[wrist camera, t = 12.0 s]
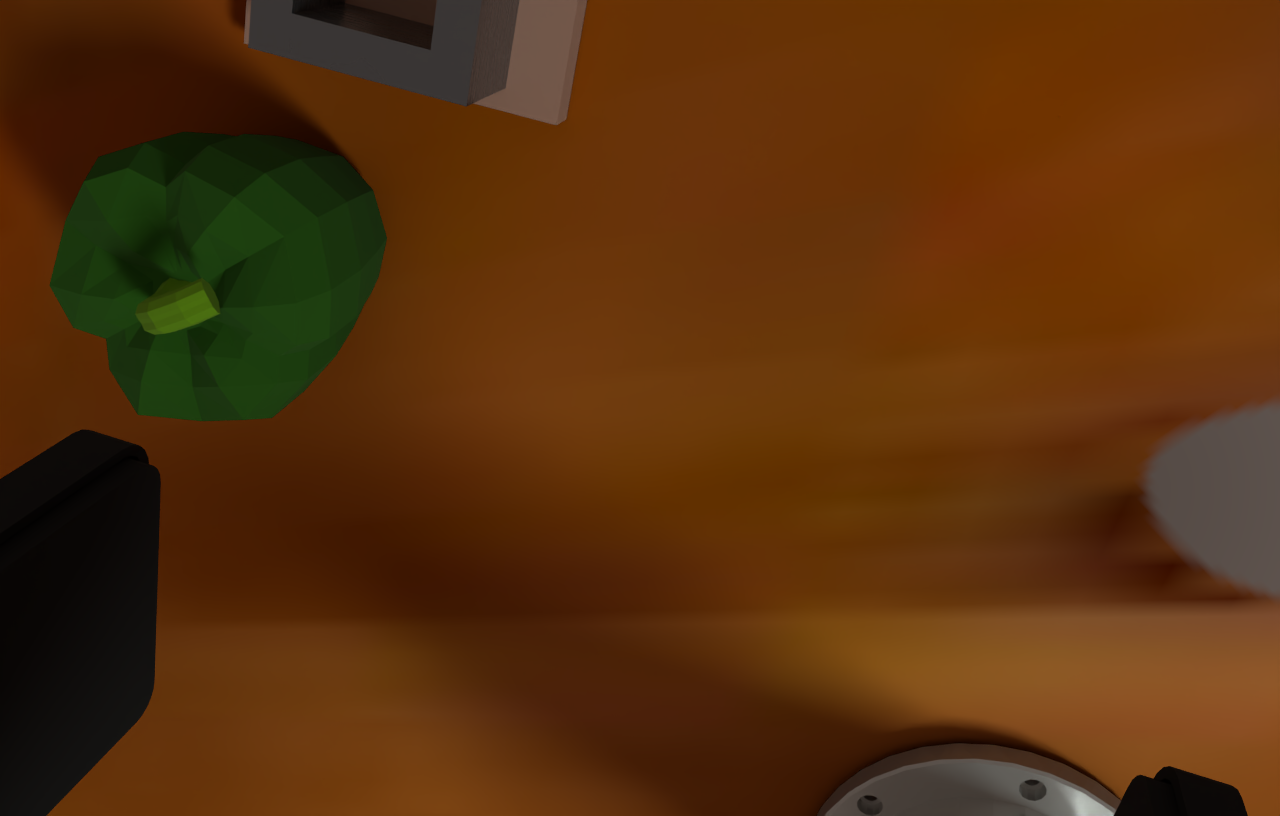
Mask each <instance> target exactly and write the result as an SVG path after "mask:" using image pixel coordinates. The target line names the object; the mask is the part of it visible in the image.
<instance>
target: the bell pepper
mask: <svg viewBox="0 0 1280 816" xmlns="http://www.w3.org/2000/svg"><path fill="white" fill-rule="evenodd" d="M386 240H387V237H386V233H385V230H384V226H383V223H382V219H381V216H380V212H379V209H378V206H377V202H376V199H375V195H374V192H373V190H372V188H371V187H370V186H369V185H368V184H367V183H366V182H365V181H364V179H363V178H362V177H361V176H360V175H359V174H358V173H357V172H356V171H355V169H354V168H353V167H352V166H351V165H350V164H349V163H348V162H347V161H346V159H345V158H344V157H343V156H340V155H337V154H334V153H332V152H329V151H326V150H324V149H321V148H318V147H315V146H313V145H310V144H307V143H305V142H302V141H299V140H295V139H290V138H284V137H279V136H270V135H254V134H243V135H239V136H231V135H225V134H212V133H195V132H181V133H177V134H174V135H170V136H166V137H163V138H159V139H156V140H152V141H148V142H145V143H142V144H138V145H135V146H132V147H129V148H126V149H122V150H119V151H116V152H113V153H110V154H106V155H103V156H100V157H98V159H97V161H96V162H95V164H94V165H93V167H92V169H91V170H90V172H89V174H88V175H87V177H86V179H85V180H84V182H83V184H82V186H81V189H80V191H79V193H78V195H77V197H76V199H75V202H74V204H73V206H72V208H71V210H70V212H69V214H68V217H67V219H66V221H65V225H64V229H63V233H62V237H61V241H60V245H59V249H58V254H57V258H56V262H55V266H54V270H53V274H52V278H51V282H50V287H51V289H52V290H53V292H54V294H55V296H56V298H57V299H58V301H59V303H60V305H61V306H62V308H63V310H64V312H65V314H66V315H67V317H68V319H69V321H70V322H71V324H72V326H73V328H76V329H79V330H82V331H85V332H88V333H91V334H94V335H97V336H100V337H103V338H106V341H107V350H108V360H109V369H110V371H111V372H112V374H113V376H114V377H115V379H116V380H117V382H118V384H119V385H120V387H121V388H122V390H123V392H124V393H125V395H126V396H127V398H128V400H129V401H130V403H131V404H132V406H133V408H134V409H135V411H136V412H137V414H138V415H147V416H157V417H166V418H176V419H186V420H196V421H222V420H248V419H263V418H272V417H274V416H275V415H276V414H277V413H278V412H280V411H281V410H282V409H283V408H284V407H286V406H287V405H288V404H289V403H290V402H292V401H293V400H294V399H295V398H296V397H298V396H299V395H300V394H301V393H302V392H304V391H305V390H306V388H307V387H308V386H309V385H310V384H311V383H312V382H313V381H314V380H315V378H316V377H317V376H318V375H319V374H320V373H321V372H322V371H323V370H324V368H325V367H326V366H327V365H328V364H329V363H330V362H331V361H332V360H333V358H334V357H335V356H336V355H337V353H338V351H339V350H340V348H341V347H342V345H343V343H344V342H345V340H346V339H347V337H348V335H349V334H350V332H351V330H352V329H353V327H354V325H355V323H356V321H357V319H358V317H359V314H360V312H361V310H362V308H363V306H364V304H365V302H366V301H367V299H368V297H369V296H370V294H371V292H372V290H373V288H374V286H375V283H376V281H377V279H378V277H379V273H380V268H381V263H382V259H383V254H384V249H385V245H386Z"/></svg>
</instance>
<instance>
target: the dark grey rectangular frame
mask: <svg viewBox="0 0 1280 816" xmlns="http://www.w3.org/2000/svg"><path fill="white" fill-rule="evenodd" d="M519 1H520V0H437V4H436V12H435V20H434V26H431V25H427V24H424V23H420V22H416V21H412V20H408V19H405V18H401V17H397V16H393V15H389V14H386V13H382V12H378V11H374V10H370V9H366V8H363V7H359V6H355V5H351V4H347V3H345V0H251V12H250V28H249V44H248V48H252V49H256V50H260V51H263V52H267V53H271V54H274V55H278V56H282V57H286V58H289V59H293V60H297V61H300V62H304V63H308V64H311V65H315V66H319V67H323V68H326V69H330V70H334V71H337V72H341V73H345V74H349V75H352V76H356V77H360V78H363V79H367V80H371V81H375V82H378V83H382V84H386V85H389V86H393V87H397V88H400V89H404V90H408V91H412V92H415V93H419V94H423V95H426V96H430V97H434V98H438V99H441V100H445V101H449V102H452V103H456V104H460V105H464V106H468V105H470V104H473V103H475V102H477V101H479V100H481V99H483V98H486V97H488V96H490V95H492V94H494V93H496V92H499V91H501V90H503V89H505V88H506V83H507V77H508V70H509V64H510V58H511V51H512V45H513V39H514V32H515V26H516V20H517V13H518V7H519Z"/></svg>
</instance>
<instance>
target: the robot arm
mask: <svg viewBox="0 0 1280 816" xmlns="http://www.w3.org/2000/svg"><path fill="white" fill-rule="evenodd" d="M160 486H161V481H160V474H159V471H158V469H157V468H156V467H154V466H153V465H149V461H148V456H147V454H146V452H145V450H144V449H143V448H142V447H140V446H139V445H136V444H133V443H129V442H126V441H123V440H120V439H117V438H113V437H110V436H107V435H104V434H101V433H97V432H94V431H91V430H80V431H78V432H75V433H73V434H71V435H70V436H68V437H66V438H65V439H63V440H62V441H60V442H59V443H57V444H55V445H54V446H52V447H51V448H49V449H47V450H46V451H44V452H43V453H41V454H39V455H38V456H36V457H35V458H33V459H31V460H30V461H28V462H27V463H25V464H24V465H22V466H20V467H19V468H17V469H16V470H14V471H12V472H11V473H9V474H8V475H6V476H4V477H3V478H1V479H0V816H46V815H47V814H48V813H49V812H50V811H51V810H52V809H53V808H54V807H55V806H56V805H57V804H58V803H59V802H60V801H61V800H62V799H63V798H64V797H65V796H66V795H67V794H68V792H69V791H70V790H71V789H72V788H73V787H74V786H75V785H76V784H77V783H78V782H79V781H80V780H81V779H82V778H83V777H84V776H85V775H86V774H87V773H88V772H89V771H90V770H91V769H92V768H93V767H94V766H95V765H96V764H97V763H98V761H99V760H100V759H101V758H102V757H103V756H104V755H105V754H106V753H107V752H108V751H109V750H110V749H111V748H112V747H113V746H114V745H115V744H116V743H117V742H118V741H119V740H120V739H121V738H122V737H123V736H124V735H125V734H126V733H127V732H128V730H129V729H130V728H131V727H132V726H133V725H134V724H135V723H136V722H137V721H138V720H139V718H140V717H141V716H142V714H143V713H144V711H145V709H146V708H147V705H148V703H149V701H150V699H151V696H152V692H153V688H154V678H155V646H156V614H157V582H158V550H159V518H160ZM817 816H1248V815H1247V812H1246V809H1245V806H1244V803H1243V800H1242V797H1241V795H1240V793H1239V791H1238V790H1237V789H1236V788H1235V787H1233V786H1231V785H1228V784H1225V783H1222V782H1219V781H1215V780H1212V779H1209V778H1206V777H1202V776H1199V775H1196V774H1193V773H1190V772H1186V771H1183V770H1180V769H1177V768H1174V767H1170V766H1168V767H1163V768H1162V769H1161V770H1160V771H1159V772H1158V773H1157V774H1156V776H1155V777H1154V779H1152V778H1149V777H1146V776H1143V775H1138V776H1136V777H1135V778H1134V779H1133V780H1132V782H1131V783H1130V785H1129V786H1128V788H1127V790H1126V792H1125V794H1124V796H1123V798H1122V800H1119V799H1118V798H1117V797H1116V796H1114V795H1113V794H1112V793H1111V792H1109V791H1108V790H1107V789H1105V788H1104V787H1103V786H1102V785H1100V784H1099V783H1098V782H1097V781H1095V780H1093V779H1091V778H1089V777H1087V776H1085V775H1084V774H1082V773H1080V772H1078V771H1076V770H1074V769H1073V768H1071V767H1069V766H1067V765H1065V764H1063V763H1060V762H1057V761H1054V760H1051V759H1049V758H1046V757H1043V756H1040V755H1037V754H1035V753H1032V752H1028V751H1023V750H1018V749H1012V748H1007V747H1002V746H997V745H986V744H963V743H955V744H946V745H936V746H927V747H921V748H917V749H913V750H910V751H906V752H903V753H899V754H895V755H892V756H889V757H887V758H885V759H883V760H881V761H878V762H876V763H874V764H872V765H870V766H868V767H866V768H864V769H862V770H860V771H859V772H858V773H856V774H855V775H854V776H852V777H851V778H850V779H848V780H847V781H846V782H844V783H843V784H842V785H840V786H839V787H838V788H837V789H836V790H835V792H834V793H833V794H832V795H831V796H830V797H829V799H828V800H827V801H826V802H825V803H824V804H823V806H822V807H821V808H820V810H819V812H818V814H817Z"/></svg>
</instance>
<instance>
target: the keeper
mask: <svg viewBox="0 0 1280 816" xmlns="http://www.w3.org/2000/svg"><path fill="white" fill-rule="evenodd" d="M345 3H347V4H351V5H355V6H359V7H363V8H366V9H370V10H374V11H378V12H382V13H386V14H389V15H393V16H397V17H401V18H405V19H408V20H412V21H416V22H420V23H424V24H427V25H431V26H434V20H435V12H436V4H437V0H345ZM586 4H587V0H520V1H519V7H518V13H517V20H516V26H515V32H514V39H513V45H512V51H511V58H510V64H509V70H508V77H507V83H506V88H505V89H503V90H501V91H499V92H496V93H494V94H492V95H490V96H488V97H486V98H483V99H481V100H479V101H477V102H475V103H474V104H478V105H482V106H485V107H489V108H493V109H497V110H501V111H504V112H508V113H512V114H516V115H520V116H523V117H527V118H531V119H535V120H539V121H542V122H546V123H550V124H554V125H558V124H559V123H561V122H562V121H564V120H566V117H567V112H568V106H569V100H570V95H571V89H572V83H573V77H574V72H575V66H576V60H577V55H578V49H579V43H580V38H581V32H582V26H583V21H584V15H585V9H586ZM250 12H251V0H246V18H245V35H244V43H245V44H249V28H250Z"/></svg>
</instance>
